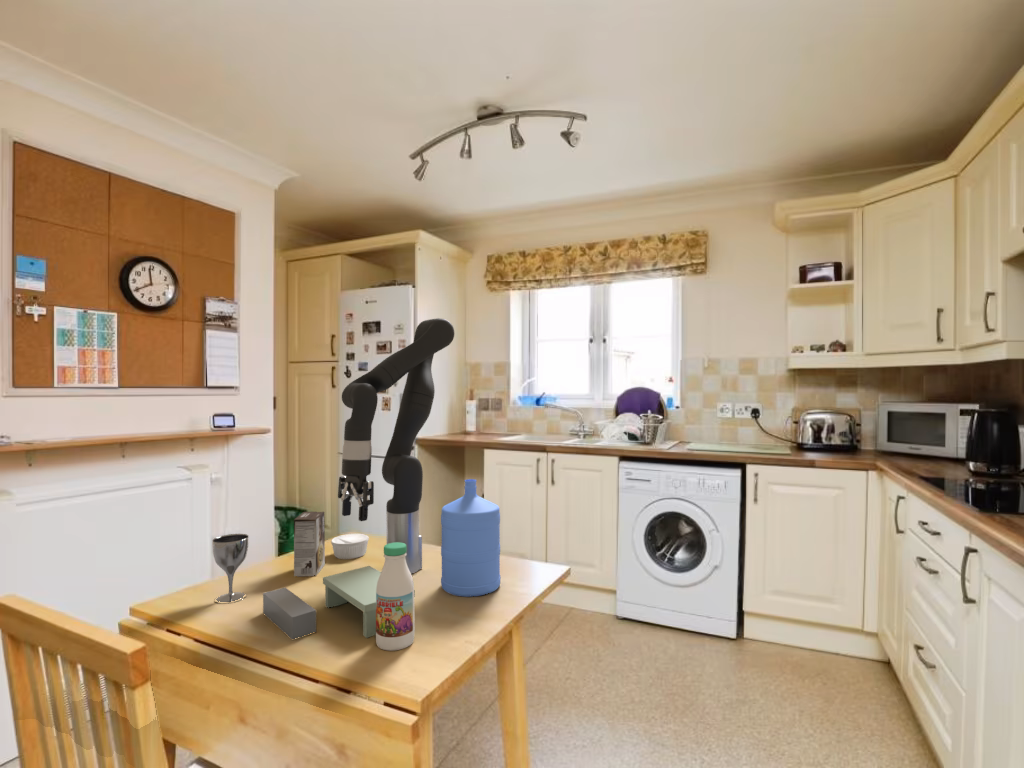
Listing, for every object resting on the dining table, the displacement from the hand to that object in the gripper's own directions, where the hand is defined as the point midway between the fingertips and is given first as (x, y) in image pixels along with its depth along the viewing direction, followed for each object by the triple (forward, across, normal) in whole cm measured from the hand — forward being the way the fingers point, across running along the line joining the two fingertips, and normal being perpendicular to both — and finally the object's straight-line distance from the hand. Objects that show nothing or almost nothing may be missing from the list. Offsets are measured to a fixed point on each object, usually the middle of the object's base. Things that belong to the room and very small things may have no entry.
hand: (354, 518), depth 137 cm
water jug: (+17, -24, -21) cm, 36 cm away
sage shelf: (+18, -18, +6) cm, 27 cm away
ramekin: (+18, +24, -13) cm, 33 cm away
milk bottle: (+18, -35, +10) cm, 41 cm away
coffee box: (+18, +19, +2) cm, 27 cm away
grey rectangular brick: (+19, -9, +21) cm, 30 cm away
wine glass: (+19, +15, +25) cm, 35 cm away
